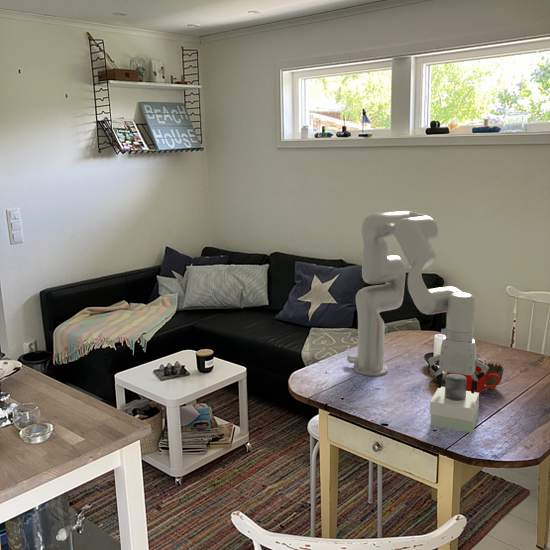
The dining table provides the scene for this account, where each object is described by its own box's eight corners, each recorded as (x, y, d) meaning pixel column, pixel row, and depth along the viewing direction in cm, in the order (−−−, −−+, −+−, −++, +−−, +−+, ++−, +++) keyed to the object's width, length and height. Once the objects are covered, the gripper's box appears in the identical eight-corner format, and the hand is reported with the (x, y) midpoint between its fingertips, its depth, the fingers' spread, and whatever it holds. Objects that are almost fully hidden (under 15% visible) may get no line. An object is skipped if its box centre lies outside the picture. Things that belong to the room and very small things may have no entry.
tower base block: (430, 426, 178) (431, 414, 177) (438, 410, 189) (438, 398, 188) (472, 434, 173) (473, 421, 172) (478, 417, 184) (478, 405, 183)
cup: (503, 394, 199) (505, 371, 197) (480, 392, 200) (481, 370, 198) (500, 385, 206) (501, 363, 204) (477, 383, 207) (479, 361, 205)
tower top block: (429, 413, 178) (430, 401, 177) (438, 398, 188) (439, 386, 187) (471, 421, 172) (472, 408, 171) (478, 405, 183) (479, 392, 182)
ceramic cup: (493, 408, 188) (495, 378, 186) (440, 397, 197) (441, 368, 195) (502, 393, 199) (504, 365, 197) (451, 383, 208) (453, 356, 206)
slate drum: (443, 398, 178) (443, 379, 177) (446, 390, 184) (447, 372, 182) (463, 402, 176) (464, 383, 174) (467, 394, 181) (467, 375, 180)
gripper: (426, 334, 176) (424, 389, 180) (488, 342, 168) (485, 399, 172) (432, 327, 182) (429, 380, 186) (492, 334, 175) (488, 389, 179)
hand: (456, 389), depth 179 cm, fingers open, 9 cm apart
